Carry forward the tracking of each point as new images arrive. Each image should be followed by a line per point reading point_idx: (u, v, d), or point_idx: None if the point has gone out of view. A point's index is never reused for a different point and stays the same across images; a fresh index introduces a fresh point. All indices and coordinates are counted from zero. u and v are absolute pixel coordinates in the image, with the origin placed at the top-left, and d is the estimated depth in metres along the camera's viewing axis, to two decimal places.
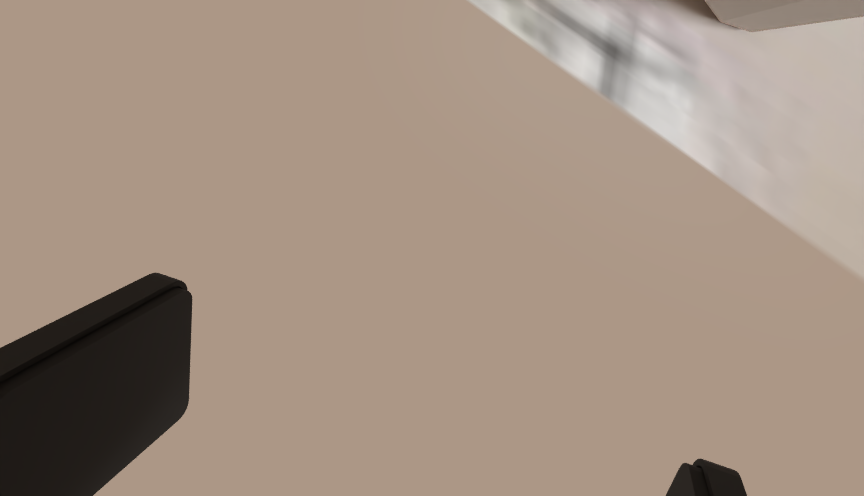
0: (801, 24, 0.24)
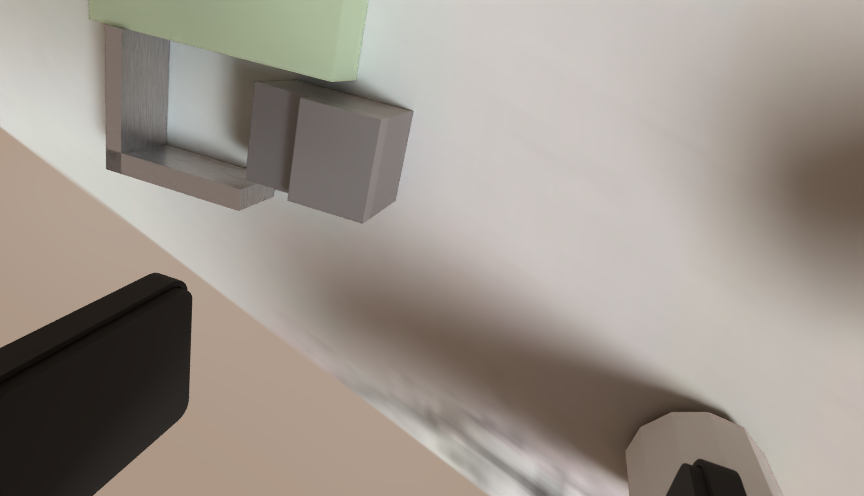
0: None
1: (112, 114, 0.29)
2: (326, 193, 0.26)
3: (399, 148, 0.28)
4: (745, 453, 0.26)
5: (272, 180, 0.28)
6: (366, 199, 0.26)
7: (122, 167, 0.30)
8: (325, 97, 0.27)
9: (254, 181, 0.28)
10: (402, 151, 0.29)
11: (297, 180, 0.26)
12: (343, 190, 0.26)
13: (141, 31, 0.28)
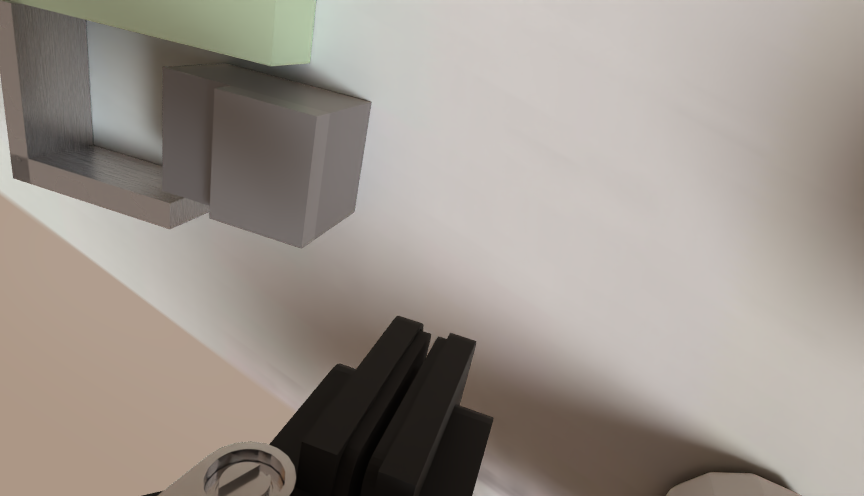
0: None
1: (12, 111, 0.24)
2: (255, 210, 0.20)
3: (352, 149, 0.22)
4: None
5: (194, 191, 0.22)
6: (304, 218, 0.20)
7: (31, 175, 0.25)
8: (253, 86, 0.21)
9: (173, 192, 0.22)
10: (359, 152, 0.23)
11: (218, 193, 0.21)
12: (275, 206, 0.20)
13: (37, 5, 0.22)
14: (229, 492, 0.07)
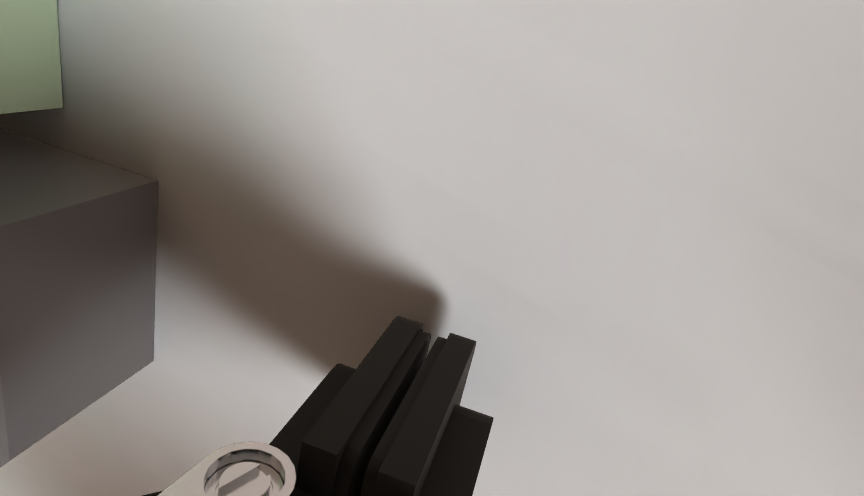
0: None
1: None
2: None
3: (112, 271, 0.12)
4: None
5: None
6: None
7: None
8: None
9: None
10: (140, 271, 0.13)
11: None
12: None
13: None
14: (229, 492, 0.07)
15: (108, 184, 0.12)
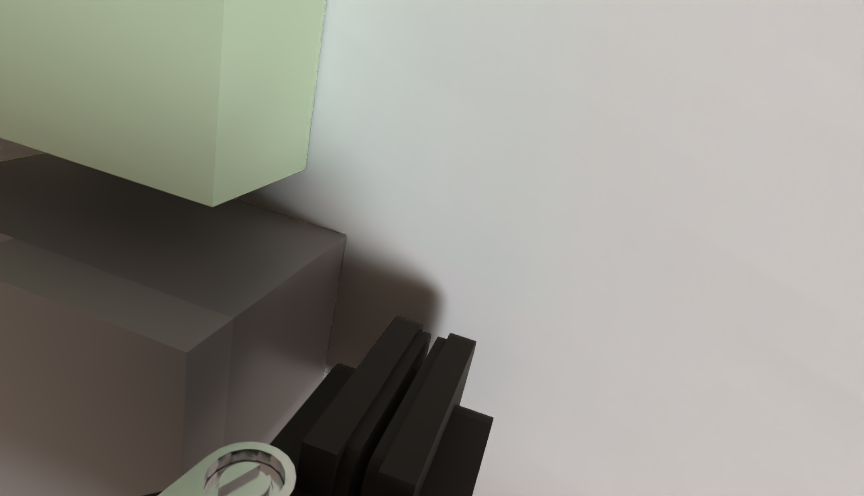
0: None
1: None
2: None
3: (304, 337, 0.11)
4: None
5: None
6: None
7: None
8: (79, 228, 0.09)
9: None
10: (320, 332, 0.12)
11: None
12: None
13: None
14: (229, 492, 0.07)
15: (304, 245, 0.11)
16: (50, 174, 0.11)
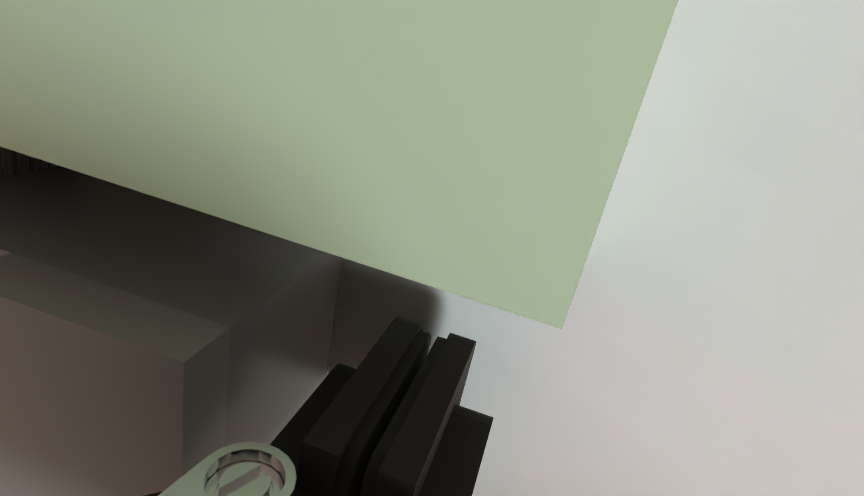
0: None
1: None
2: None
3: (304, 345, 0.11)
4: None
5: None
6: None
7: None
8: (76, 241, 0.09)
9: None
10: (320, 340, 0.12)
11: None
12: None
13: None
14: (230, 492, 0.07)
15: (302, 253, 0.11)
16: (48, 188, 0.11)
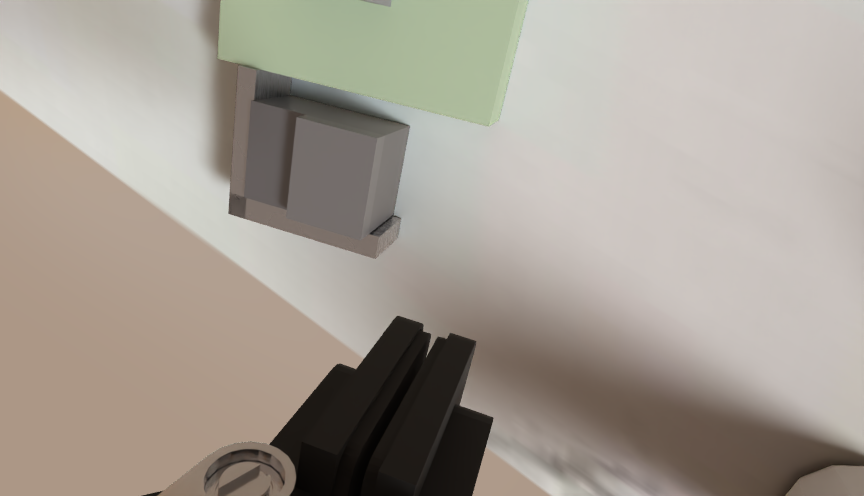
0: None
1: (239, 158, 0.28)
2: (324, 211, 0.26)
3: (396, 163, 0.28)
4: None
5: (270, 197, 0.28)
6: (364, 216, 0.26)
7: (247, 212, 0.29)
8: (321, 114, 0.27)
9: (252, 198, 0.28)
10: (399, 166, 0.29)
11: (295, 198, 0.26)
12: (341, 208, 0.26)
13: (276, 72, 0.26)
14: (229, 492, 0.07)
15: (396, 126, 0.28)
16: (294, 101, 0.28)
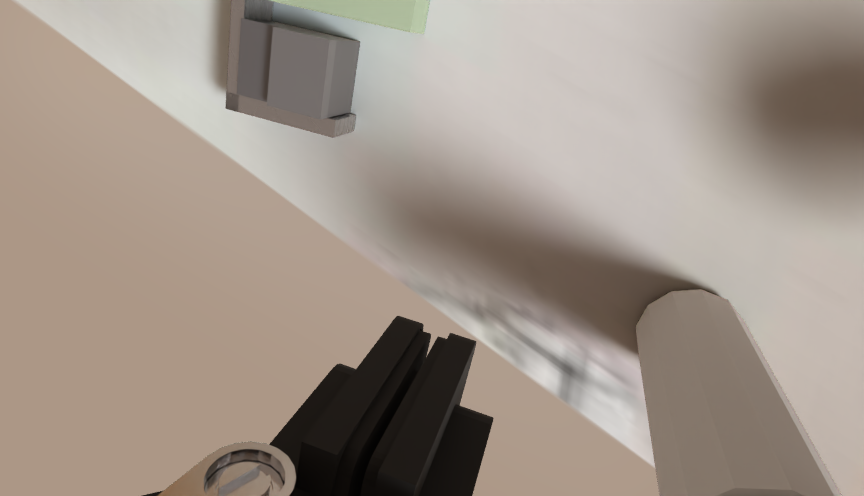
0: None
1: (233, 63, 0.38)
2: (294, 98, 0.36)
3: (349, 68, 0.38)
4: (727, 312, 0.34)
5: (256, 93, 0.38)
6: (322, 101, 0.36)
7: (239, 106, 0.39)
8: (292, 29, 0.36)
9: (243, 94, 0.38)
10: (353, 72, 0.39)
11: (272, 89, 0.36)
12: (305, 95, 0.36)
13: None
14: (229, 492, 0.07)
15: (349, 40, 0.38)
16: (274, 23, 0.38)
